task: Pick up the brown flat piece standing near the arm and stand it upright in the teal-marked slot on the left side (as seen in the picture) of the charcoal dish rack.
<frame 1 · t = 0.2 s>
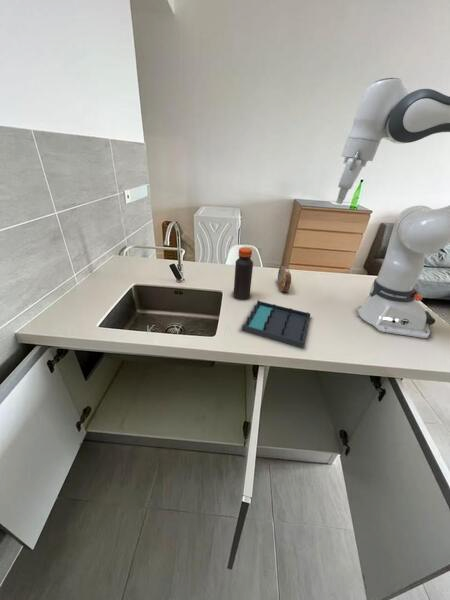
hand: (340, 201, 79), 39 cm above the worktop, tool pointing down, fingers open, 8 cm apart
bottle: (241, 296, 101), on the worktop
rack: (277, 323, 85), on the worktop
brown flat piece: (282, 287, 110), on the worktop
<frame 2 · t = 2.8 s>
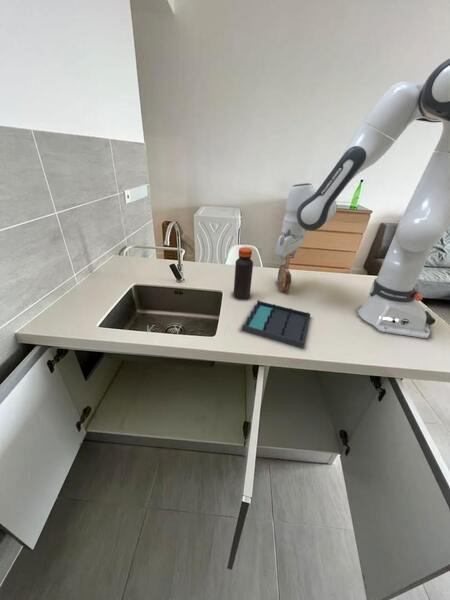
hand: (287, 260, 103), 12 cm above the worktop, tool pointing down, fingers open, 8 cm apart
nothing on the worktop moved.
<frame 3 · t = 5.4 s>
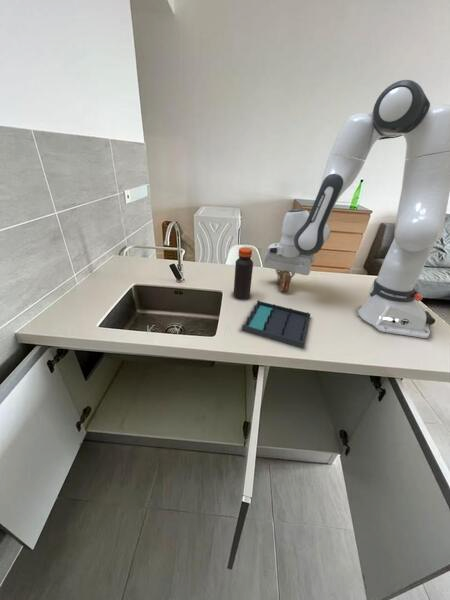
hand: (283, 279, 108), 4 cm above the worktop, tool pointing down, fingers closed on brown flat piece, 3 cm apart
brown flat piece: (282, 287, 110), on the worktop, touching gripper
everything else where it was.
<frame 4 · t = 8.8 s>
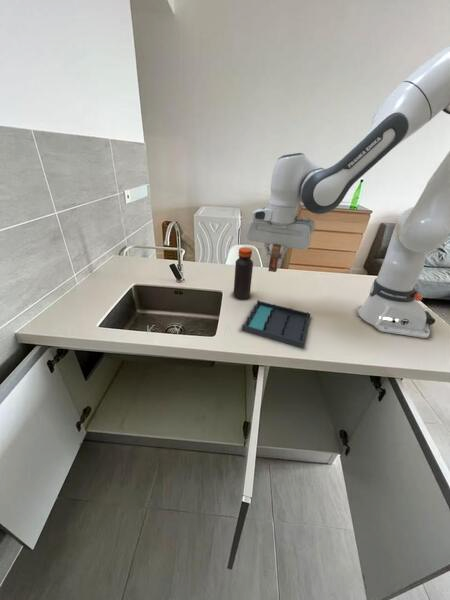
hand: (274, 257, 81), 21 cm above the worktop, tool pointing down, fingers closed on brown flat piece, 3 cm apart
brown flat piece: (274, 267, 84), point 17 cm above the worktop, touching gripper
everything else where it was.
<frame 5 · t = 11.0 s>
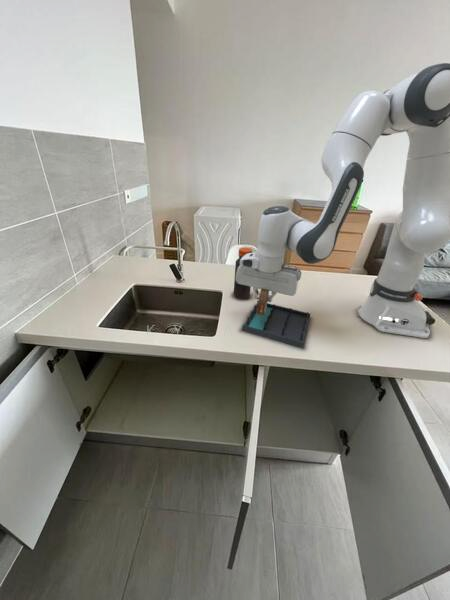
hand: (263, 299, 83), 8 cm above the worktop, tool pointing down, fingers closed on brown flat piece, 3 cm apart
brown flat piece: (263, 308, 85), point 4 cm above the worktop, touching gripper
everything else where it was.
when the fingers open (4 cm above the worktop, at t = 12.3 s): brown flat piece stays where it is, resting on rack.
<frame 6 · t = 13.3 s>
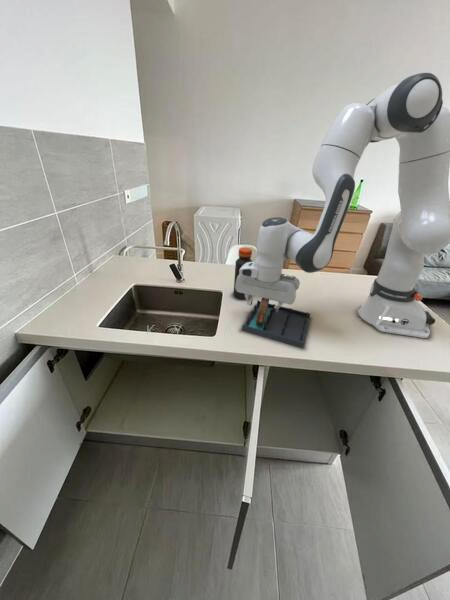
hand: (262, 307, 84), 5 cm above the worktop, tool pointing down, fingers open, 8 cm apart
brown flat piece: (262, 317, 87), point 1 cm above the worktop, touching rack
everything else where it was.
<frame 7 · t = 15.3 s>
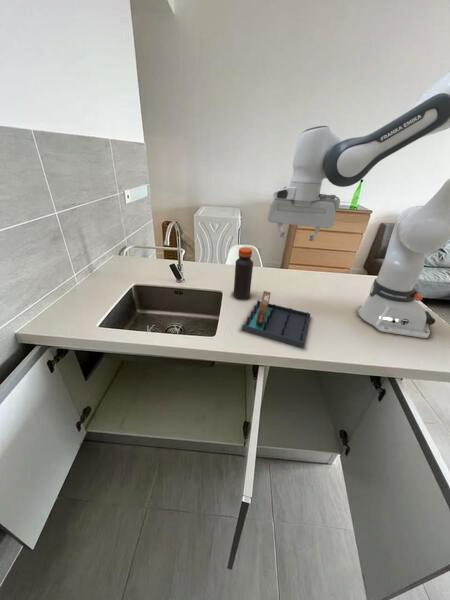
hand: (296, 238, 79), 28 cm above the worktop, tool pointing down, fingers open, 8 cm apart
nothing on the worktop moved.
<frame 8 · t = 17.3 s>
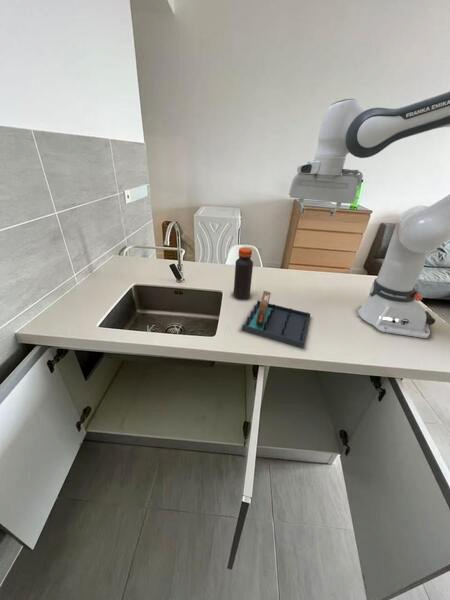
hand: (316, 214, 81), 34 cm above the worktop, tool pointing down, fingers open, 8 cm apart
nothing on the worktop moved.
at the end: brown flat piece 0.6 cm from the target spot on the rack, point 0.7 cm above the rack's base; brown flat piece tilted 0°; the gripper is holding nothing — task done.
